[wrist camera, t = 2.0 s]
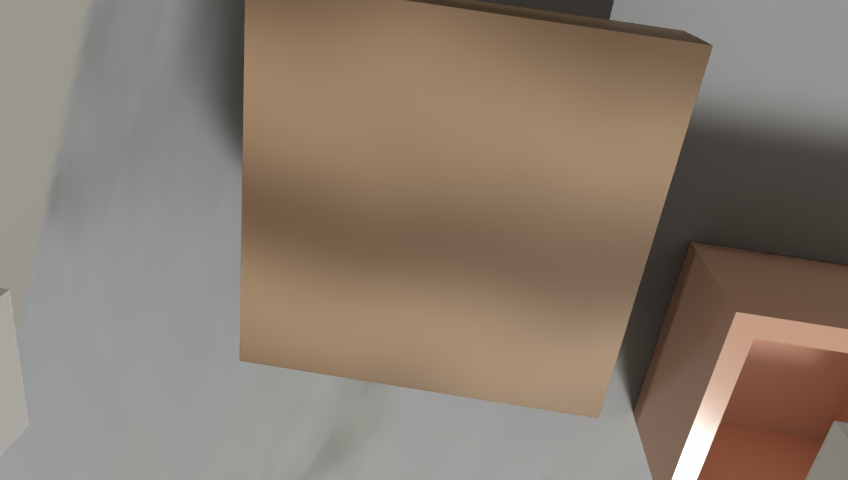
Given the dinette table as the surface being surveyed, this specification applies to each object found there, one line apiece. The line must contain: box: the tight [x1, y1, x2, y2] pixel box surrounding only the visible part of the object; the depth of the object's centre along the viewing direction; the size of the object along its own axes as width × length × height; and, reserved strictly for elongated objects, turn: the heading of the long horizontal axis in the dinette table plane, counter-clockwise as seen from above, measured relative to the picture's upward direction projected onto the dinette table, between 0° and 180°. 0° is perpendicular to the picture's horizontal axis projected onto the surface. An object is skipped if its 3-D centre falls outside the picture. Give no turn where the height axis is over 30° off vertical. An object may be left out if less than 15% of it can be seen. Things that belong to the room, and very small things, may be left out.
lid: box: [240, 0, 713, 418], centre depth 19 cm, size 11×11×2 cm
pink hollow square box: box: [633, 241, 848, 480], centre depth 24 cm, size 8×8×5 cm
